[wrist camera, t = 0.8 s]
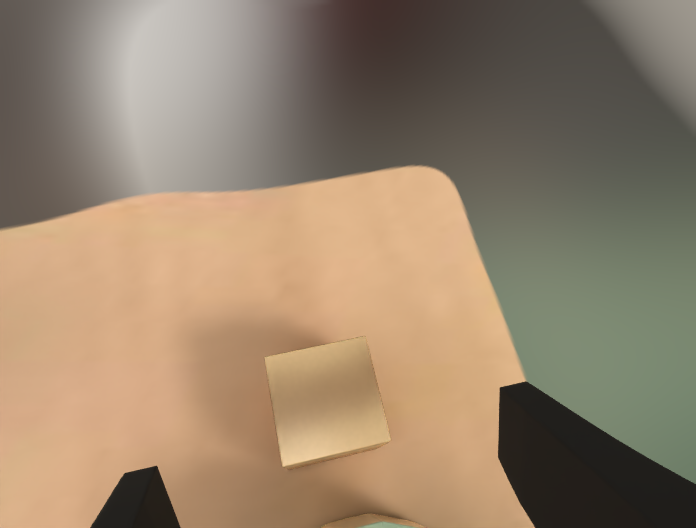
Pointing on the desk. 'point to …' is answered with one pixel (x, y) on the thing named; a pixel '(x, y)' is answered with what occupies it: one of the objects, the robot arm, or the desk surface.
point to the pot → (372, 522)
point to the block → (326, 402)
